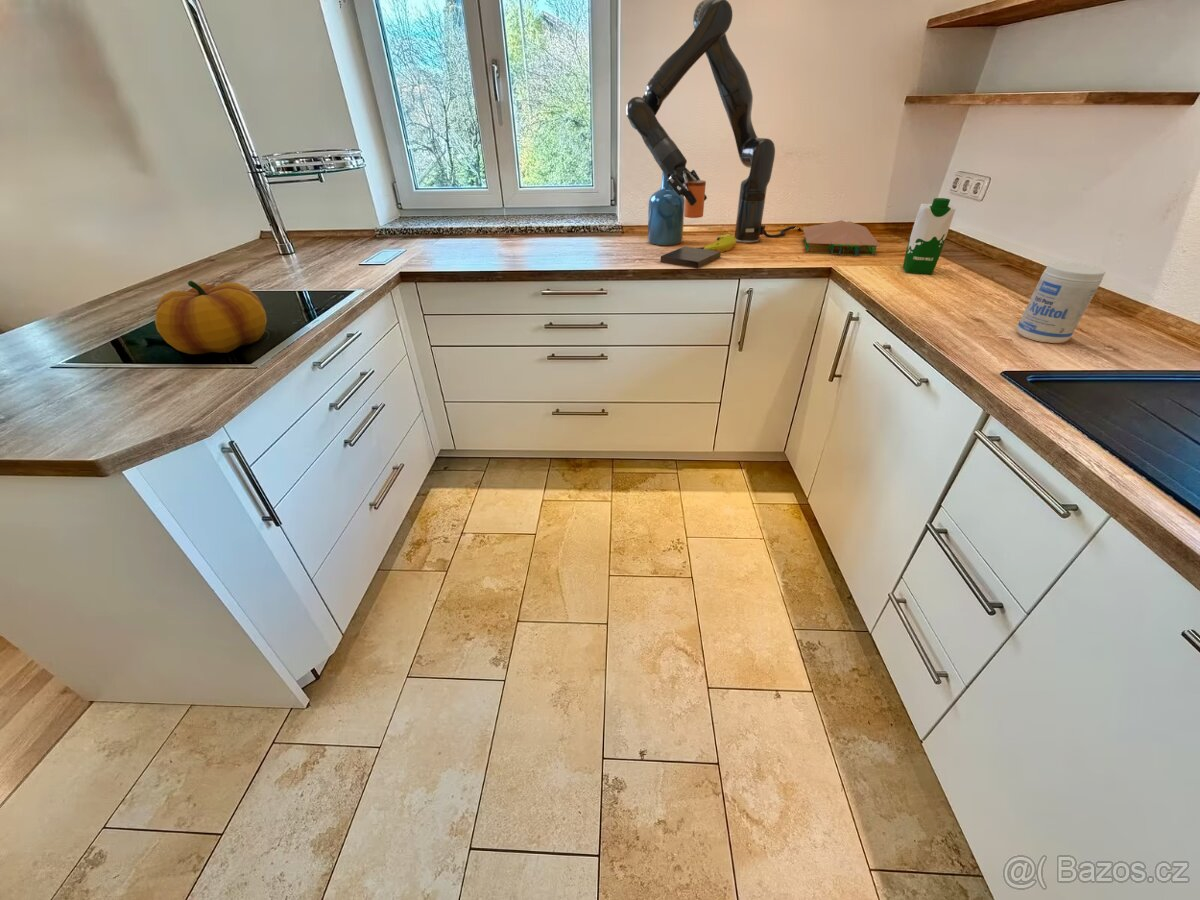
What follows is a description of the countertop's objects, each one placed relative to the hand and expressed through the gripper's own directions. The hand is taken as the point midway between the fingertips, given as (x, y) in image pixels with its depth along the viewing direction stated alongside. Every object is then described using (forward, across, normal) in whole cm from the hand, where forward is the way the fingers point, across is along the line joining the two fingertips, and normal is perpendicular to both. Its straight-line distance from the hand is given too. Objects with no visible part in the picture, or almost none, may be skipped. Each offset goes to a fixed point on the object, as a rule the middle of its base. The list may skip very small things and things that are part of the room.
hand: (699, 201), depth 160 cm
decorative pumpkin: (-26, -124, +50) cm, 137 cm away
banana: (+11, +20, +15) cm, 27 cm away
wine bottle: (-3, +18, +29) cm, 34 cm away
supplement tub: (+80, -17, -54) cm, 98 cm away
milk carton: (+57, +25, -31) cm, 70 cm away
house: (+36, +46, -10) cm, 59 cm away
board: (+12, 0, +14) cm, 18 cm away
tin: (+2, 0, +4) cm, 5 cm away
